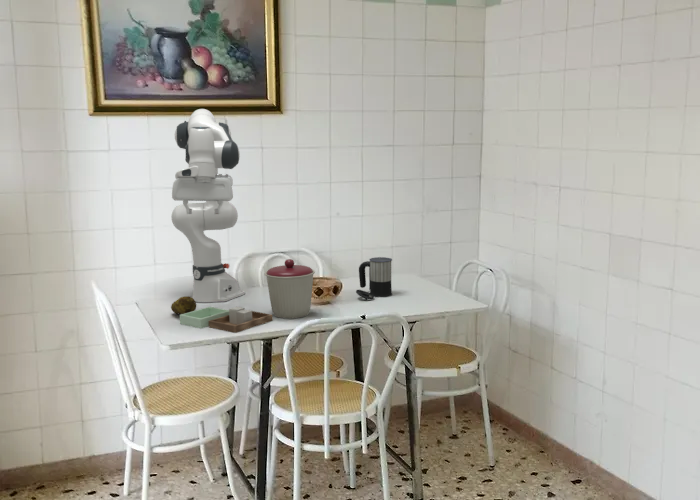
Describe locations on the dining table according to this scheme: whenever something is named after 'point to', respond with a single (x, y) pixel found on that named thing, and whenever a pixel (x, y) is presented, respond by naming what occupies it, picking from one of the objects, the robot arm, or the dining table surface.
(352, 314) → the dining table surface
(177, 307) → the potato
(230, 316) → the stone
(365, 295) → the milk frother
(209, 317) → the green bin
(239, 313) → the stone
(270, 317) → the walnut tray
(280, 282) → the canister
